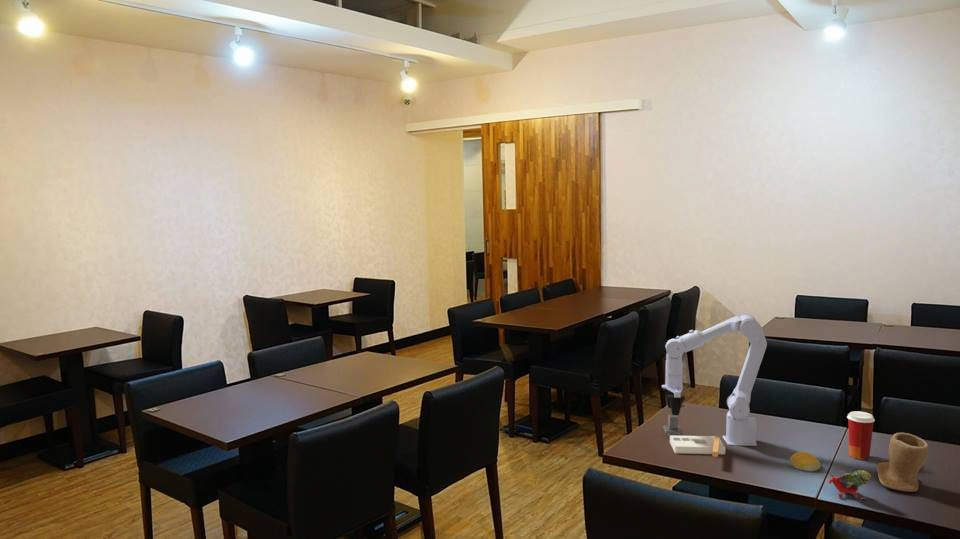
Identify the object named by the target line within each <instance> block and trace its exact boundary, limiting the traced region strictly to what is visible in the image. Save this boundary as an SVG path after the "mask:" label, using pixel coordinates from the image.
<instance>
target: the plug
mask: <svg viewBox="0 0 960 539" xmlns="http://www.w3.org/2000/svg"><path fill="white" fill-rule="evenodd" d="M667 416H668V417H667V418H668V419H667V420H668V421H667V424H666V425H665V424H664V425H663V430H664V432H665V434H666V435H667V436H668V438H669V439H670V435H674V436H679V435H683V433H684V431H683V429H682V427H681V426H680V425H679V417H678V416H679V415H672V414H667Z"/></svg>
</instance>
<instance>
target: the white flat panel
mask: <svg viewBox="0 0 960 539" xmlns="http://www.w3.org/2000/svg"><path fill="white" fill-rule="evenodd" d="M715 436H716V435H714V436H713V435H712V436H711V435H678V436H674V435H670V438H669V443H670V446H671V448H672V450H673V452H674V453H675V454H683V455H684V454H686V455H687V454H691V455H692V454H695V455H712V451H713V445H714V438H715ZM718 455H726V446H725V444H724V443H723V442H722V440H721V439H720V445H719V452H718Z"/></svg>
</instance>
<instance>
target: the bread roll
mask: <svg viewBox="0 0 960 539" xmlns="http://www.w3.org/2000/svg"><path fill="white" fill-rule="evenodd" d="M789 460H790V462H791V465H792V466H793V468H795V469H797V470H799V469H800V471H803V470H804V472H816V471H818V470H820V469H821V466H822V465H821V464H822V463H821V462H820V461H819V460H818V458H817V457H816V456H815V455H813V454H812V453H810V452H807V451H798V452H795V453H793V454H792V455H790V458H789Z"/></svg>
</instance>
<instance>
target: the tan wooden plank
mask: <svg viewBox="0 0 960 539" xmlns="http://www.w3.org/2000/svg"><path fill="white" fill-rule="evenodd" d="M714 436H715V438H714V445H713V451H712V454H711V455H712V456H711V457H715V458H719V454H718V452H719V445H720V440H721V436H720V435H717V434H716V435H714Z"/></svg>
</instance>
